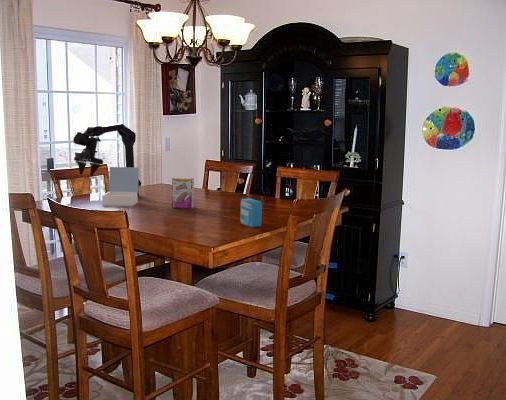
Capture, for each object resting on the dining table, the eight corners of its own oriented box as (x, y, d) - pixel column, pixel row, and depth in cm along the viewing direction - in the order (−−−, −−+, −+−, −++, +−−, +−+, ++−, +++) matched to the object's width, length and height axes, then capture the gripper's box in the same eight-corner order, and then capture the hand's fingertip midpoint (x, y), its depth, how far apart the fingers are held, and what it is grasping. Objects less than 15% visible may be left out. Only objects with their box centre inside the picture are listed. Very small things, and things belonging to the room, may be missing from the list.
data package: (240, 223, 252) (240, 198, 250) (248, 222, 255) (248, 197, 253) (253, 228, 242) (253, 202, 240) (261, 227, 244) (262, 201, 243)
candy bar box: (171, 208, 287) (171, 178, 284) (173, 206, 292) (173, 177, 289) (191, 209, 286) (192, 178, 283) (193, 207, 291) (193, 177, 288)
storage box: (109, 201, 302) (109, 191, 301) (137, 202, 302) (137, 192, 301) (102, 206, 288) (102, 195, 287) (131, 206, 288) (131, 195, 287)
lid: (109, 191, 301) (109, 191, 302) (137, 192, 301) (138, 192, 302) (109, 166, 301) (110, 167, 302) (138, 167, 301) (138, 167, 302)
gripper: (68, 143, 295) (63, 171, 294) (89, 145, 284) (84, 174, 283) (84, 148, 304) (79, 174, 303) (106, 150, 293) (101, 177, 292)
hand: (85, 175), depth 295 cm, fingers open, 9 cm apart
